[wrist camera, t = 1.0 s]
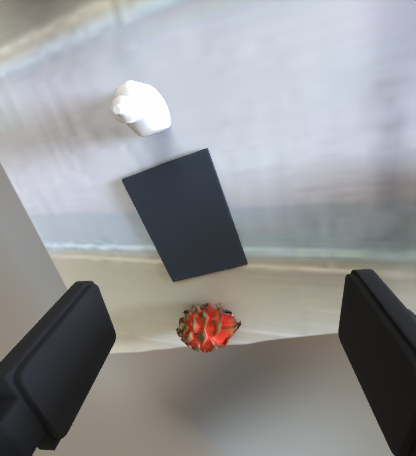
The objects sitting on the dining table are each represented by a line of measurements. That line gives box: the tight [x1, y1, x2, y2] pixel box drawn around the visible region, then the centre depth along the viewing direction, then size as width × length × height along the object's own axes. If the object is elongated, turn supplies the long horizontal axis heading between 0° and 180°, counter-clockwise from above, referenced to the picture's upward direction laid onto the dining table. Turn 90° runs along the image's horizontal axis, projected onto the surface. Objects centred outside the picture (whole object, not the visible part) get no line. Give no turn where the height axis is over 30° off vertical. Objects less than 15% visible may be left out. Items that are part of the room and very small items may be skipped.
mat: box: [122, 148, 247, 282], centre depth 40 cm, size 20×14×1 cm
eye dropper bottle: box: [111, 80, 171, 137], centre depth 28 cm, size 4×6×12 cm
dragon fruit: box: [177, 303, 241, 353], centre depth 45 cm, size 8×8×12 cm
